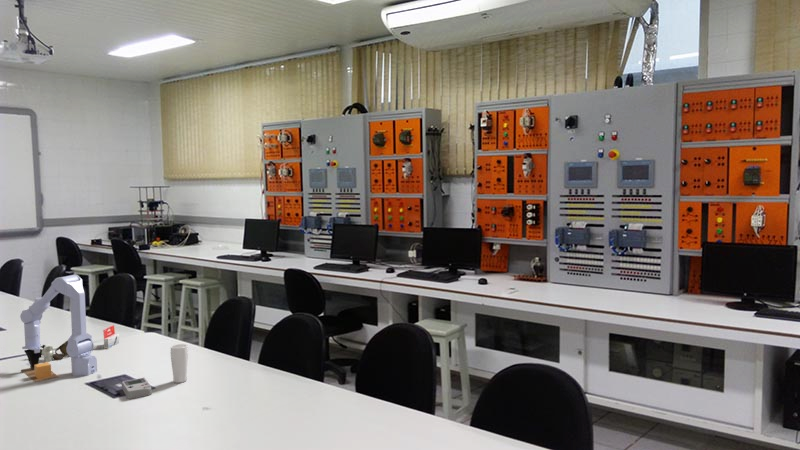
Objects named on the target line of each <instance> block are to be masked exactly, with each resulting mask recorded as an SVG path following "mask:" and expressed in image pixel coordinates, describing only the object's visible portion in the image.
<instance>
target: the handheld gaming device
mask: <svg viewBox="0 0 800 450" xmlns="http://www.w3.org/2000/svg"><path fill="white" fill-rule="evenodd" d="M121 389H122V391H123V393H124V395H125V396H126V397H127V399H128V400H131V399H136V398H141V397H147V396H151V395H152V386H151V384H150V383H149V382H148V380H147V379H146V378H145V377H139V378H134V379H129V380H123V381H121Z"/></svg>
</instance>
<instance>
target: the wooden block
mask: <svg viewBox="0 0 800 450" xmlns="http://www.w3.org/2000/svg"><path fill="white" fill-rule="evenodd" d="M29 366H30V367H28V368H22V369H20V373H22V374H23V373H24V374H25V375H26V376H27V377H29V379H30V380H32V381H33V382H34V383H38V382H43V381H48V380H52V379H56V378H60V376H59V375H57V374H56V373H55V372H53V371H52V370H51V376H49V377H45V378H40V379H38V378H36V377H35V368H34V367H32V366H31V362H30V364H29Z"/></svg>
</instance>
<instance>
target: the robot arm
mask: <svg viewBox="0 0 800 450" xmlns="http://www.w3.org/2000/svg"><path fill="white" fill-rule="evenodd" d="M83 284H84V283H83V279H82V278H81V276H79V275H78V274H70V275H66V276H61V277H60V276H59V277H56V278H54V280H53V281H52V282H51V284H50V286H49V287H48V289H47V290H46V291H45V293H44V295H43V296H41V297H37V298H34V302H33V303H32V304H31V305H29V306H28V309H25V310H22V311H21V312H20V316H19V318H20V320H21V322H22V323H23V327H24V330H23V331H24V345H25V346H22V347H21V348H22V350H24V351H23V352H24V353H25V355H26V357H27V359H28V363H29V365H30V362H31V366H32V367H34V365H36V364H39V361H40V355H41V353H42V350H40V349H41V346H42V344H41V331H40V330H41V329H40V325H41V324H42V323H41V320H42V318H43V314H44V312H46V311H47V309H48V308H49V307H50V306H51V301H52V300H53V299H54V298H55V297H56V296H57V295H58V294H62V295H64V296H66V297H68V298H69V300H70V313H71V314H70V317H71V319H70V320H71V335H70V337H69V338H68V339H67V340H68V345H67V347H66V351H67V354H68V355H69V358H70V359H71V361H70V362H71V375H72V376H77V377H79V376H86V377H87V376H88V377H89V376H90V375H93V374H95V373H97V372H98V360H97V357H96V356H95V355H92V351H93V350H94V348H95V347H94V346H95V343H94V341H93V338H92V337H93V336H92V335H91V334H89V333H87V318H86V317H87V316H86V312H87V311H86V294H85V290H84V286H83ZM41 356H42V355H41Z"/></svg>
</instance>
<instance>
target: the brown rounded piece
mask: <svg viewBox="0 0 800 450" xmlns="http://www.w3.org/2000/svg"><path fill="white" fill-rule="evenodd" d="M67 345H68V339H67V340H66V341H64V342H63V343H62V344H61V345H59V347H57V348H55V350H54V351H55V352H54V353H53V360H58V361H59V360H62V359H63V358H64V357H68V356H69V355H68V354H67V351H66V347H67ZM58 351H60V353H57V352H58ZM69 357H70V356H69Z"/></svg>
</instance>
